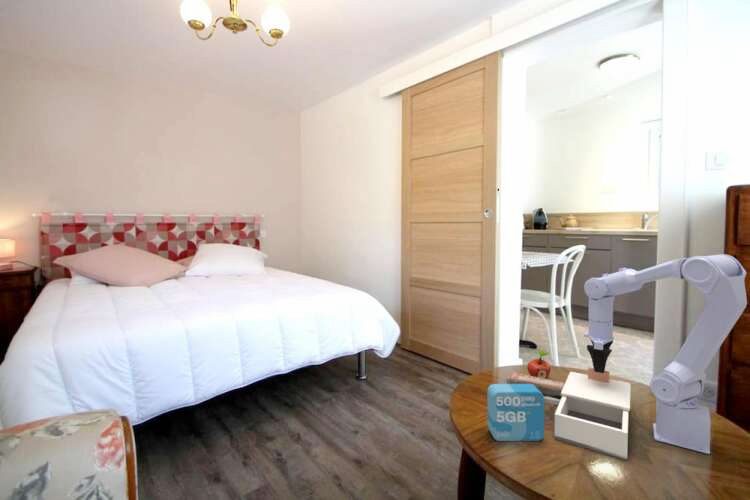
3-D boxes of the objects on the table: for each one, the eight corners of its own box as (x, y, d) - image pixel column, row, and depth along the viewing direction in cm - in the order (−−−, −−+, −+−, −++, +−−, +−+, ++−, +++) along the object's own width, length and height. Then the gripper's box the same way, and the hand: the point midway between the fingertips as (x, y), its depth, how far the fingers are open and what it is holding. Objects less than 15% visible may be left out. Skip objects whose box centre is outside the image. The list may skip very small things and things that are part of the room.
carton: (628, 426, 87) (628, 402, 87) (627, 460, 75) (627, 433, 74) (565, 410, 96) (565, 388, 95) (554, 438, 83) (554, 414, 83)
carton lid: (630, 385, 96) (630, 373, 96) (629, 411, 83) (630, 397, 82) (570, 373, 105) (570, 362, 104) (560, 395, 91) (560, 382, 91)
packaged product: (503, 379, 106) (510, 368, 115) (504, 394, 106) (510, 382, 115) (571, 392, 96) (573, 379, 105) (571, 409, 97) (573, 395, 105)
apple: (549, 387, 109) (549, 356, 109) (525, 383, 113) (525, 352, 112) (551, 378, 116) (551, 349, 115) (529, 374, 120) (529, 346, 119)
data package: (492, 441, 83) (492, 392, 82) (487, 430, 87) (487, 383, 86) (544, 441, 82) (544, 391, 81) (536, 430, 87) (536, 383, 86)
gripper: (586, 313, 106) (586, 356, 107) (581, 323, 94) (580, 373, 95) (614, 315, 102) (614, 361, 102) (612, 327, 90) (612, 379, 91)
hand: (600, 367), depth 98 cm, fingers open, 7 cm apart
